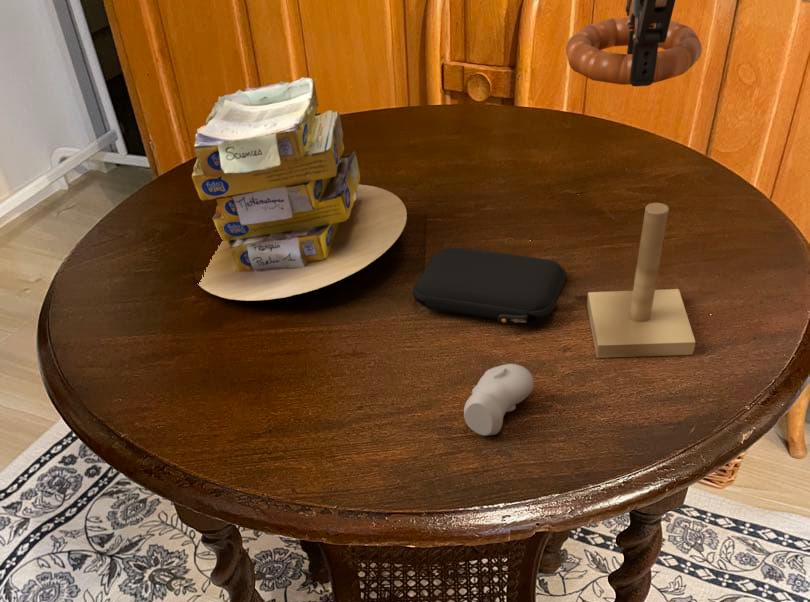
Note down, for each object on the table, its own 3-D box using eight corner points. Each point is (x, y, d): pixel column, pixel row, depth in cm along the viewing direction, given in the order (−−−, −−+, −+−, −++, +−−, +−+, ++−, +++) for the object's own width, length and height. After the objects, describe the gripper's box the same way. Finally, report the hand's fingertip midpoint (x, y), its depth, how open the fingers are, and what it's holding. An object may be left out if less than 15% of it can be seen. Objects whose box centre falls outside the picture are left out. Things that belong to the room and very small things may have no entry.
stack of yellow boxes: (154, 301, 94) (104, 146, 81) (245, 193, 109) (215, 49, 97) (369, 326, 88) (351, 164, 75) (433, 208, 103) (426, 58, 91)
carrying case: (403, 318, 88) (544, 340, 84) (401, 292, 86) (546, 313, 82) (437, 264, 95) (569, 282, 91) (436, 238, 93) (571, 256, 88)
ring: (685, 36, 93) (689, 9, 91) (708, 83, 84) (713, 54, 82) (561, 44, 94) (563, 18, 92) (571, 92, 85) (573, 63, 83)
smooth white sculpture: (499, 392, 81) (545, 396, 78) (451, 438, 77) (498, 444, 74) (488, 351, 79) (536, 353, 75) (438, 396, 75) (486, 401, 71)
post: (676, 301, 87) (699, 181, 78) (693, 355, 81) (720, 231, 72) (586, 304, 88) (599, 185, 79) (596, 358, 82) (611, 236, 73)
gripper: (728, -126, 67) (689, 105, 80) (696, -162, 76) (666, 50, 89) (630, -119, 68) (607, 109, 81) (610, -156, 77) (593, 54, 90)
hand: (638, 77), depth 85 cm, fingers closed on ring, 2 cm apart
